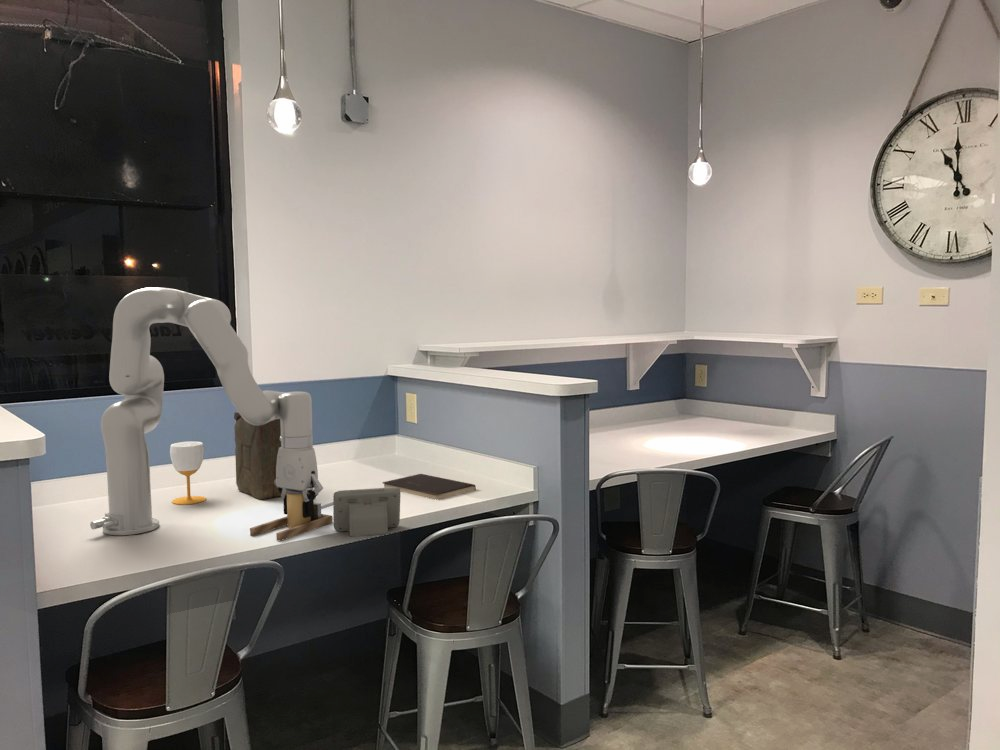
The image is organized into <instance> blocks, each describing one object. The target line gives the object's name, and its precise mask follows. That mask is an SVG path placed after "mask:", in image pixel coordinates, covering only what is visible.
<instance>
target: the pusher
mask: <svg viewBox="0 0 1000 750" xmlns="http://www.w3.org/2000/svg"><path fill="white" fill-rule="evenodd" d="M330 507H333V501H331V502H328V503H325V504H322V503H320V502H314V515H313V516H311V521H313V520H316V519H319V518H321V514H322V510H324V509H326V508H330Z"/></svg>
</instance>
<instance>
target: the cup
mask: <svg viewBox="0 0 1000 750" xmlns="http://www.w3.org/2000/svg"><path fill="white" fill-rule="evenodd" d="M204 452H205V449H204V443H203V442H202V441H181V442H175V443H172V444H170V448H169V457H170V460H171V463H172V466H173V468H174V469H175V471H176V472H177V473H179V474H180V475H184V476H185V477H186V496H181V497H177V498H174V499H172V501H171V503H172V504H173V505H177V506H179V505H180V506H181V505H182V506H185V505H186V506H187V505H195V504H199V503H203V502H205V501H206V500H207V497H205V496H201V495H191V478H190V477H191V476H192V475H194V474H195V473H197V471H199V469H200V468H201V467H202V464H203V461H204V456H205V454H204Z"/></svg>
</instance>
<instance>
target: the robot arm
mask: <svg viewBox="0 0 1000 750" xmlns="http://www.w3.org/2000/svg"><path fill="white" fill-rule="evenodd" d="M112 319H113V320H112V339H111V348H110V349H111V350H110V363H109V374H108V375H109V376H108V378H109V379H108V381H109V385H110V387H111V389H112V390H113V391H114V392H116V393H117V394H119V395H122V396H123V397H124V399H122V400H121V401H117V402H115V403H112V404H110V405H109V406H108V407H107V408H106V409H105V411H104V412H103V414H102V415H101V418H100V419H101V420H100V429H101V430H100V431H101V436H102V439H103V443H104V451H105V459H106V460H105V463H106V475H107V476H106V477H107V479H106V480H107V495H108V496H107V498H108V512H106V513H104V517H103V518H102V519H96V520H93V521H91V522H90V524H89V526H90V528H91V530H93V531H94V530H97V529H101V528H102V532H103V533H104V534H106V535H109V536H110V535H112V536H129V535H137V534H143V533H148V532H151V531H153V530H155V529H157V528H158V527H159V526H160V520H158V519H157V518H155V517H153V509H152V488H151V487H152V486H151V469H150V468H151V466H150V454H149V453H150V452H149V447H148V443H147V440H146V436H145V434H147V433H150V432H152V431H153V430H154V429H156V427H157V426H158V425H159V423H160V422H161V418H162V412H163V401H164V399H163V398H164V387H165V384H164V383H165V373H164V367H163V366H162V364H161V362H160V361H159V360H158V359H157V358H156V357H155V356H153V355H151V343H152V342H151V341H152V340H151V339H152V338H151V332H150V327H151V325H153V324H159V323H161V324H164V323H171V324H176V325H180V326H184V327H187V328H188V329H189V331H190V333H191V334H192V336H193V337H194V338H195V340H196V341H197V343H198V344H199V346H201V348H202V349H203V351H204V352H205V354H206V355H207V357H208V358H209V360H210V361H211V363H212V364H213V366H214V368H215V370H216V372H217V376H218V378H219V381H220V384H221V386H222V388H223V390H224V392H225V394H226V396H227V398H228V399H229V401H230V402H231V404H232V405H233V406H234V408H235V409H236V411H237V412H239V414H240V415H241V416H242V418H243V419H244V420H245V421H247V422H248V423H250V424H252V425H256V426H260V425H264V424H266V423H268V422H270V421H272V420H275V419H280V424H281V437H280V441H281V447H280V448H279V450H278V455H277V465H276V479H275V481H274V484H275V485H276V486H277V488H278V490H279V491H280V493H281V496H280V497H281V499H283V501H282V502H283V514H284V515H286V516H287V493H286V489H291V490H298V491H302V493H303V497H304V500H305V501H304V502H303V517H304V518H307V517H310V516H313V515H314V503H315V502H314V501H315V500H316V498H317V496H318V495H319V493H321V492H322V491H323V489H324V486H323V484H321V481H320V480H319V474H318V473H319V472H318V470H319V469H318V462H317V456H316V450H315V448H314V444H313V442H314V441H313V440H314V439H313V437H314V436H313V406H312V405H313V403H312V402H313V401H312V396H311V394H310V393H309V392H307V391H300V390H299V391H297V390H296V391H288V392H287V391H286V392H285V391H276V390H270V389H269V390H267V389H266V390H262V389H261V387H260V386H259V385H258V383H257V382H256V380H255V378H254V377H253V375H252V373H251V369H250V366H249V352H248V349H247V347H246V345H245V344H244V343H243V341H242V340H241V338H240V337H239V335H238V334H237V332H236V331H235V329H234V328H233V327H232V324H231V321H232V315H231V312H230V309H229V308H228V306H227V305H226V304H225V303H224V302H223V301H221V300H218V299H216V298H210V297H207V296H202V295H198V294H193V293H190V292H187V291H183V290H179V289H175V288H169V287H157V286H156V287H152V286H151V287H150V286H149V287H144V288H140V289H136V290H133V291H132V292H130V293H128V294H126V295H125V296H124V297H123V298H122V299H121V300H120V301H119V302H118V304H117V305H116V307H115V309H114V313H113V318H112ZM308 490H309V495H308V492H307V491H308Z"/></svg>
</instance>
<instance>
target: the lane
mask: <svg viewBox="0 0 1000 750" xmlns="http://www.w3.org/2000/svg"><path fill="white" fill-rule="evenodd" d="M332 523H333V515H331V514H324V513H321V518H319V519H316V520H313V521H311V522H308V523H305V524H302V525H299V526H296V527H293V528H290V527H289V528H288V529H285V530H284V529H283V530H281V531H278V532H276V533H275V534H276V541H277V540H282V539H285V540H287V539H286V538H288V539H290V538H293V537H295V535H296V536H299V535H301V533H302V534H304V532H305V533H307V532H309V531H313V530H315V529H318V528H322V527H325V526H327V525H330V524H332ZM285 526H288V525H287V515H286V516H283V517H280V518H277V519H274V520H272V521H268V522H265V523H261V524H259V525H256V526H252V527H250V528H249V536H252V537H255V536H257V535H260V534H261V535H262V534H263V533H267V532H270V531H273V530H276V529H278V528H281V527H285ZM298 534H299V535H298ZM292 536H293V537H292ZM289 537H290V538H289ZM282 541H283V540H282Z"/></svg>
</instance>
